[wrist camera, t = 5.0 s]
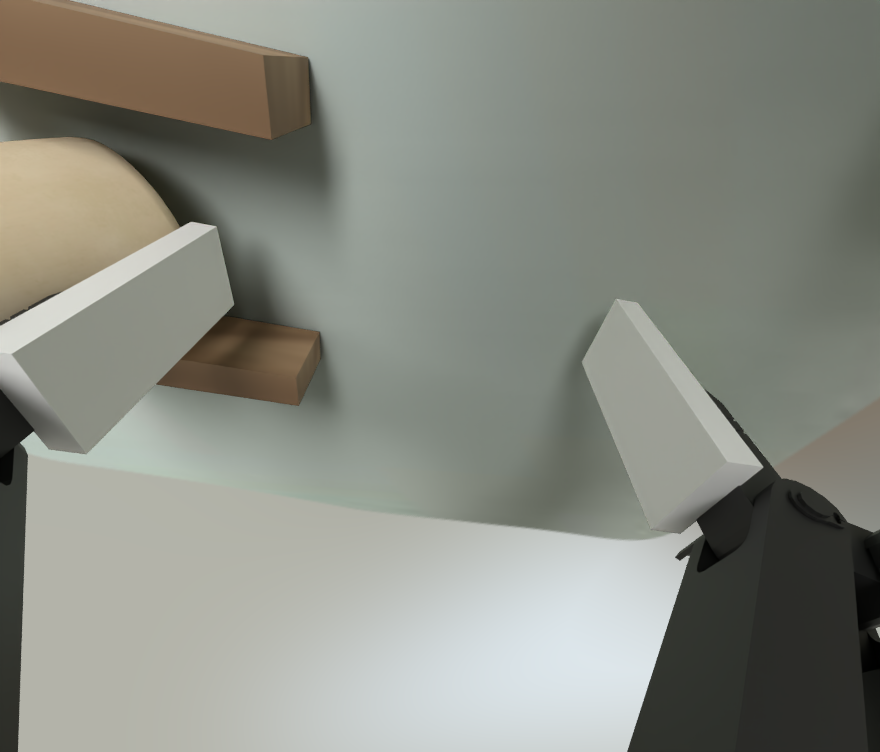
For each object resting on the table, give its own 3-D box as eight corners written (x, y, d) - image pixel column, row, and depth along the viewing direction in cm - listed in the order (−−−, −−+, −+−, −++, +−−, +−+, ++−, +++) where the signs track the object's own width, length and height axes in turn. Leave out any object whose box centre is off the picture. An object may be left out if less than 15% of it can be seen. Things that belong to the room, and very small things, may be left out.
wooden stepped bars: (-111, -43, 9) (-458, -109, 5) (308, 57, 10) (230, 53, 6) (85, 320, 16) (-16, 390, 12) (320, 358, 16) (286, 433, 13)
